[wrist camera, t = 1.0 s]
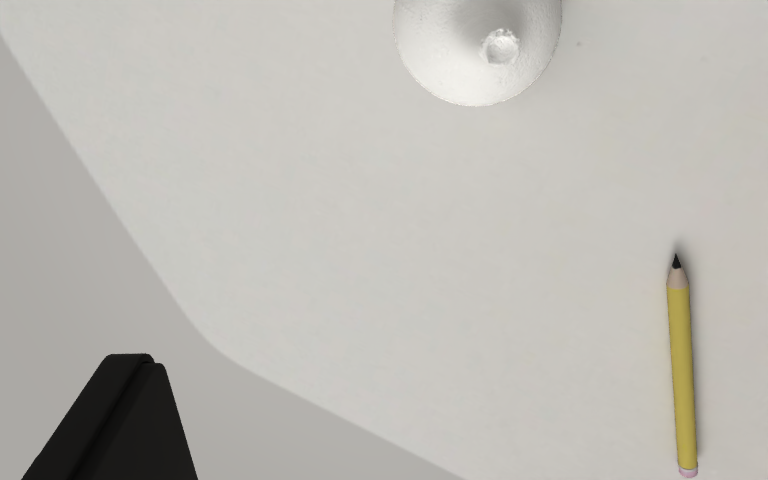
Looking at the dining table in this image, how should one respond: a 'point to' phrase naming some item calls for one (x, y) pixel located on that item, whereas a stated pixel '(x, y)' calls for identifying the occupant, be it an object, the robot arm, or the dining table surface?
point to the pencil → (682, 369)
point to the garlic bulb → (476, 45)
